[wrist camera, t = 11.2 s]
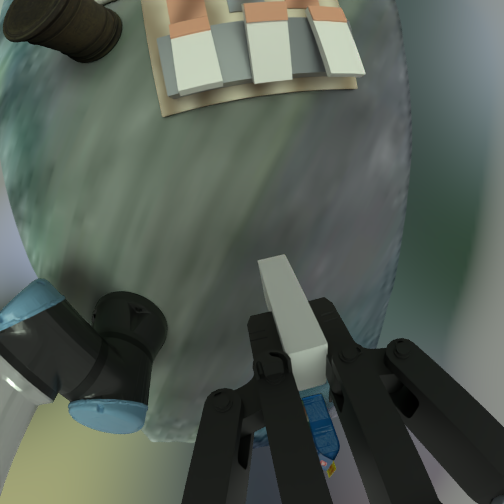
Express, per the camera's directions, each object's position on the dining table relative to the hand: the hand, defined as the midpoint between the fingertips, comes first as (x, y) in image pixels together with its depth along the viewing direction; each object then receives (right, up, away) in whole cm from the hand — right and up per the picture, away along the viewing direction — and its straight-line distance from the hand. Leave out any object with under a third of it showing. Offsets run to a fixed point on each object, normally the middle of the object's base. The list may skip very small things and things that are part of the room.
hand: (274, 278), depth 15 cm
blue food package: (+16, -45, +57) cm, 74 cm away
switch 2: (+8, +26, +9) cm, 29 cm away
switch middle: (0, +25, +8) cm, 27 cm away
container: (-24, +33, +9) cm, 42 cm away
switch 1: (-7, +22, +9) cm, 25 cm away
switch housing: (0, +27, +14) cm, 31 cm away
